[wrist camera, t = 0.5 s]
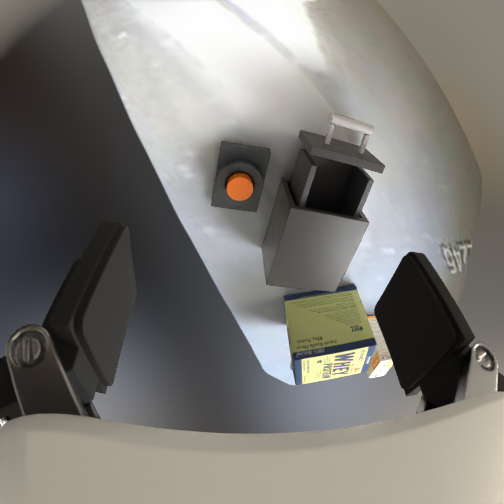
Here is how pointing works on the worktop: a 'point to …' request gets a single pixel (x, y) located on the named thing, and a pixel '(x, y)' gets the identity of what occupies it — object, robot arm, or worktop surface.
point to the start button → (239, 186)
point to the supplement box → (378, 352)
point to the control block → (237, 161)
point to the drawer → (334, 170)
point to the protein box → (328, 334)
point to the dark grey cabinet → (308, 244)
